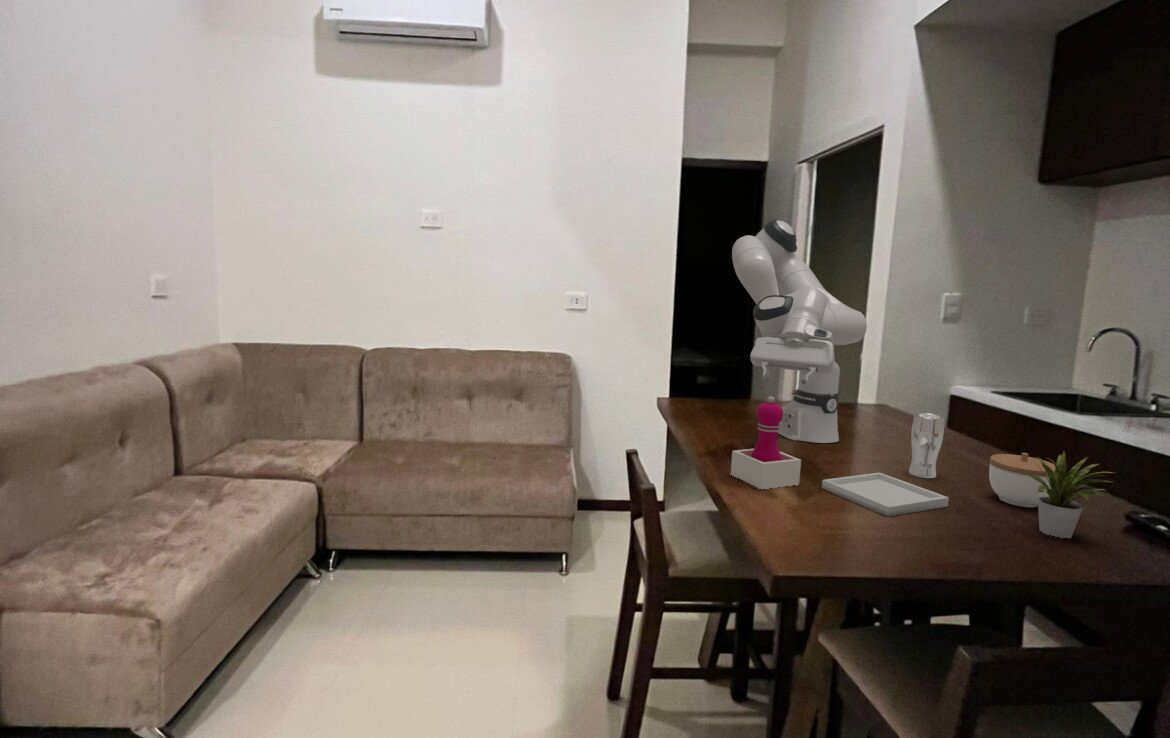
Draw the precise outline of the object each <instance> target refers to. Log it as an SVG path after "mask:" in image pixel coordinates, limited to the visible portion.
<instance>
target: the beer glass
mask: <svg viewBox="0 0 1170 738" xmlns="http://www.w3.org/2000/svg"><path fill="white" fill-rule="evenodd" d="M911 426H912V427H911V433H910V436H911V439H910V441H911V442H910V443H911V463H910V466H909V469H908V474H910V475H911V476H914V477H917V478H921V479H935V478H936V477H937V469H936V465H937V459H938V455H939V453H940V449H941V446H942V444H943V440H944V434H945V433H944V432H945V417H944V416H943V415H939V414H934V413H928V412H916V413H914V416H913V421H912V425H911Z"/></svg>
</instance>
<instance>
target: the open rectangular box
mask: <svg viewBox="0 0 1170 738" xmlns="http://www.w3.org/2000/svg"><path fill="white" fill-rule="evenodd" d="M753 450H754V448H749V449H748V448H747V449H738V450H732V453H731V465H730V476H731V475H732V476H731V477H733V476H734V478H735V477H736V478H735V479H737V478H739V479H741V480H743V481H745V482H744V483H746V482H747V483H746V484H748V483H749V484H748V485H750V484H751V485H750V486H752V485H753V486H752V487H754V486H755V487H754V488H756V487H757V488H756V489H758V490H760V489H762V490H761V491H763V489H765V490H770V488H772V489H778V487H780V488H785V487H786V486H788V487H794V486H793V485H795V486H799V485H800V479H801V477H800V475H801V469H802V468H801V467H802V459H800V458H798V457H795V456H793V455H789V454H787V453H785V452H783V451H780V450H779V452H780V455H781V459H782V460H781V461H772V462H762V461H759V460H757V459H755V458H752V457H750V456H751V454H752V452H753ZM739 479H738V480H739ZM741 480H740V481H741ZM743 481H742V482H743ZM786 488H787V487H786Z"/></svg>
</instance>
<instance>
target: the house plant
mask: <svg viewBox="0 0 1170 738" xmlns="http://www.w3.org/2000/svg"><path fill="white" fill-rule="evenodd" d="M1036 458H1037V459H1039V461H1040V462H1041V463H1040V464H1042V466H1043V468H1044V469H1045V471H1046V473H1047V475H1048V478H1049V480H1048V478H1047V476H1046V475H1045V473H1044V472H1043V471H1042V470H1041V471H1042V472H1043V474H1044V475H1045V476H1046V478H1047V480H1048V482H1049V481H1050V482H1049V485H1050V484H1051V485H1050V487H1051V489H1050V488H1049V487H1048V485H1047V484H1046V483H1045V482H1044V481H1043V480H1042V479H1041V478H1039V477H1037V476H1035V475H1027V476H1028V477H1031V478H1033V479H1035V480H1037V481H1038V482H1040V483H1041V484H1042V485H1043V486H1042V485H1039V488H1038V492H1047V493H1048V495H1049V497H1048V496H1043V497H1039V498H1038V506H1037V509H1038V524H1039V525H1038V526H1039V532H1040V531H1041V532H1040V533H1042V532H1043V533H1042V534H1044V533H1045V534H1044V535H1046V534H1047V535H1046V536H1049V535H1051V536H1050V537H1052V536H1055V537H1054V538H1056V537H1060V538H1059V539H1063V538H1068V539H1071V538H1072V537H1073V535H1074V531H1075V530H1076V526H1077V523H1078V521H1079V519H1080V516H1081V513H1082V511H1083V508H1084V507H1083V505H1082V504H1080V503H1077V502H1075V500H1077V499H1079V498H1081V497H1084V498H1085V499H1086V501H1087V503H1088V504H1089V502H1090V501H1089V499H1090V497H1089V495H1098V496H1101V497H1103V494H1102V492H1101V491H1105V489H1104V488H1096V489H1095V488H1093V487H1089V486H1084V487H1083V486H1082V487H1079V486H1081V485H1084V484H1085V485H1086V484H1090V483H1091V484H1092V483H1113V481H1111V480H1105V479H1094V477H1095V478H1096V477H1104V475H1103V474H1115V472H1110V471H1099V472H1098V471H1097V472H1093V473H1092V472H1091V473H1090V471H1091V470H1092V468H1095V467H1096V466H1098V465H1100V463H1093V464H1090V465H1087V466H1086V467H1083V468H1081V467H1082V465H1083V464H1084V463H1085V462H1086V461H1087V459H1088V456H1087V457H1084V458H1083V459H1080V461H1079V462H1077V463H1075V465H1074V466H1072V467H1071V469H1070V470H1069V471H1068V472H1067V464H1068V463H1067V461H1066V452H1065V451H1063V452H1062V454H1059V455H1058V457H1057V460H1056V462H1055V461H1054V460H1053V459H1050V458H1048V457H1046V459H1047V460H1050V461H1051V462H1052V464H1054V465H1055V472H1054V473H1053V471H1052V469H1051V468H1050V467H1049V466H1048V465H1046V464H1045V462H1044V461H1045V460H1044V461H1043V459H1042V458H1041V457H1038V456H1036ZM1034 463H1035V462H1034ZM1035 464H1036V463H1035ZM1036 465H1037V464H1036ZM1037 466H1038V465H1037ZM1038 467H1039V466H1038ZM1039 468H1040V467H1039ZM1080 468H1081V470H1079V469H1080ZM1040 469H1041V468H1040ZM1102 473H1103V474H1102ZM1086 477H1087V478H1086ZM1105 477H1107V475H1105ZM1084 478H1085V479H1084ZM1039 489H1040V490H1039ZM1041 489H1046V490H1047V491H1044V490H1041ZM1084 490H1085V491H1084ZM1107 491H1109V490H1107ZM1038 492H1037V493H1038Z"/></svg>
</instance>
